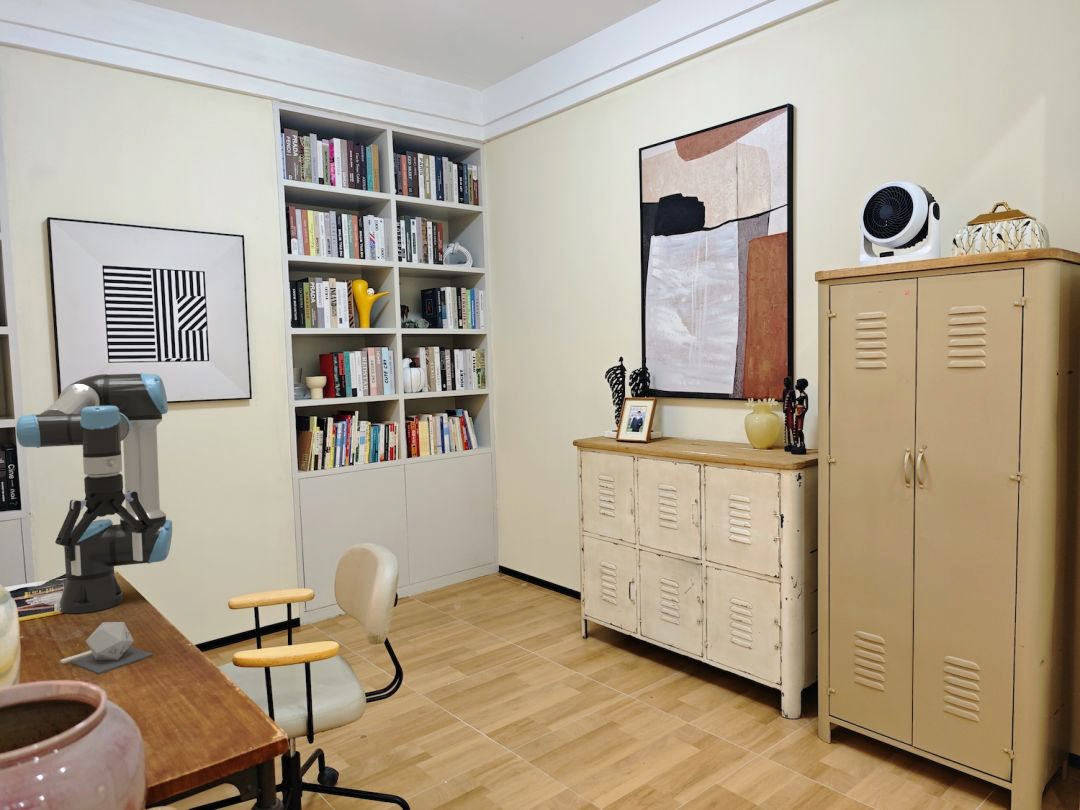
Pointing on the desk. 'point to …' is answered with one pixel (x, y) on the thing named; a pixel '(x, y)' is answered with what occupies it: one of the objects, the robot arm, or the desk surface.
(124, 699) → the desk surface
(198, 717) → the desk surface
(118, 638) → the die
